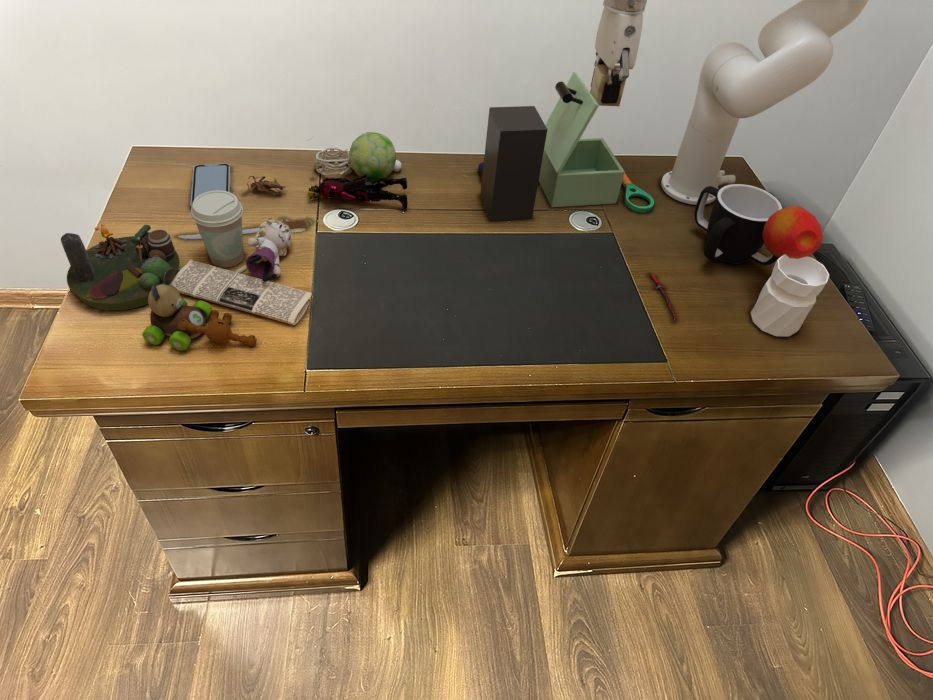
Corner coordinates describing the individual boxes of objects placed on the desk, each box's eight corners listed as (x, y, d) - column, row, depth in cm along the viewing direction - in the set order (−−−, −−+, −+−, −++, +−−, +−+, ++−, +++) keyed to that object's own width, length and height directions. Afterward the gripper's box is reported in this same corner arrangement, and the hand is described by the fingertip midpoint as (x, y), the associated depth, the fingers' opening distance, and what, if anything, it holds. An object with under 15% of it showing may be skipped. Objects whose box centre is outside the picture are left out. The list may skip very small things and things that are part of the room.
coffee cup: (209, 277, 122) (195, 221, 114) (198, 249, 127) (183, 194, 119) (257, 265, 125) (247, 210, 117) (244, 238, 130) (233, 184, 122)
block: (613, 94, 139) (620, 65, 134) (619, 106, 135) (626, 76, 131) (589, 93, 138) (595, 64, 134) (594, 105, 135) (601, 75, 131)
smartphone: (189, 207, 135) (193, 164, 144) (190, 210, 135) (194, 168, 145) (229, 204, 136) (229, 162, 146) (229, 208, 137) (230, 166, 146)
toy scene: (76, 253, 124) (54, 204, 116) (181, 241, 128) (167, 192, 121) (66, 321, 112) (42, 271, 105) (183, 305, 117) (167, 255, 109)
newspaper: (293, 320, 114) (294, 327, 115) (312, 292, 119) (313, 299, 120) (166, 285, 118) (169, 292, 119) (189, 259, 122) (192, 266, 123)
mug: (773, 284, 132) (799, 233, 124) (689, 269, 134) (709, 218, 125) (763, 234, 144) (787, 185, 135) (686, 221, 145) (705, 171, 136)
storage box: (595, 169, 157) (602, 137, 151) (616, 203, 148) (624, 171, 142) (534, 172, 154) (539, 140, 148) (551, 207, 145) (557, 175, 139)
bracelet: (314, 163, 150) (350, 161, 152) (318, 179, 144) (356, 177, 146) (312, 145, 148) (350, 144, 150) (317, 161, 142) (355, 159, 144)
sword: (178, 249, 127) (176, 233, 130) (178, 250, 127) (177, 234, 130) (314, 229, 134) (309, 214, 137) (314, 230, 134) (309, 215, 137)
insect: (280, 168, 137) (293, 182, 141) (243, 169, 139) (257, 182, 144) (274, 188, 135) (288, 201, 140) (238, 189, 138) (252, 201, 143)
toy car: (192, 354, 109) (175, 302, 101) (140, 342, 110) (120, 290, 102) (218, 315, 116) (205, 264, 108) (169, 305, 116) (152, 253, 108)
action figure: (407, 188, 148) (313, 188, 147) (406, 161, 145) (310, 161, 143) (407, 219, 137) (305, 220, 135) (406, 191, 133) (301, 192, 132)
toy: (253, 247, 114) (277, 203, 125) (206, 269, 117) (234, 225, 129) (284, 285, 118) (305, 239, 130) (238, 306, 122) (263, 260, 133)
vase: (759, 336, 122) (787, 285, 113) (744, 303, 128) (769, 252, 119) (806, 337, 123) (838, 287, 114) (789, 304, 129) (817, 253, 120)
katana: (659, 273, 131) (658, 275, 132) (650, 273, 131) (649, 275, 132) (680, 321, 123) (678, 323, 124) (671, 321, 123) (669, 323, 124)
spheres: (365, 142, 158) (356, 143, 156) (366, 132, 156) (357, 133, 155) (402, 173, 150) (393, 174, 149) (404, 162, 149) (395, 163, 147)
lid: (576, 72, 139) (554, 64, 137) (599, 105, 130) (576, 97, 128) (541, 139, 148) (520, 132, 146) (559, 173, 139) (537, 167, 137)
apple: (830, 205, 113) (800, 196, 125) (774, 222, 115) (750, 211, 126) (838, 258, 116) (808, 244, 128) (784, 274, 118) (759, 259, 129)
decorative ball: (359, 115, 141) (376, 137, 150) (332, 155, 141) (351, 175, 150) (396, 136, 138) (411, 157, 148) (369, 178, 138) (386, 196, 148)
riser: (520, 193, 148) (534, 105, 133) (532, 218, 142) (547, 129, 127) (480, 196, 146) (489, 107, 132) (489, 221, 140) (500, 131, 126)
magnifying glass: (657, 211, 147) (659, 205, 146) (631, 214, 146) (633, 207, 144) (629, 173, 157) (631, 166, 156) (604, 174, 156) (606, 168, 154)
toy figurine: (260, 315, 115) (258, 336, 110) (254, 333, 117) (252, 355, 111) (185, 296, 111) (179, 318, 105) (180, 315, 112) (174, 337, 107)
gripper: (664, 17, 118) (636, 116, 131) (628, -19, 129) (606, 75, 143) (623, 17, 117) (599, 117, 130) (590, -20, 128) (572, 76, 141)
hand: (603, 94), depth 136 cm, fingers closed on block, 5 cm apart
